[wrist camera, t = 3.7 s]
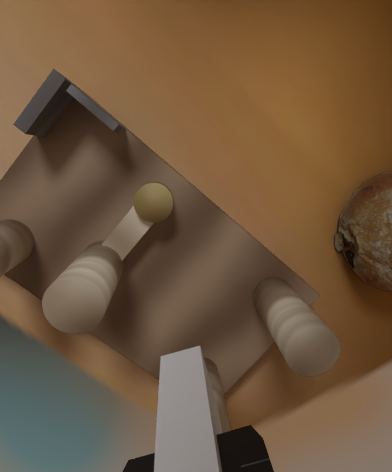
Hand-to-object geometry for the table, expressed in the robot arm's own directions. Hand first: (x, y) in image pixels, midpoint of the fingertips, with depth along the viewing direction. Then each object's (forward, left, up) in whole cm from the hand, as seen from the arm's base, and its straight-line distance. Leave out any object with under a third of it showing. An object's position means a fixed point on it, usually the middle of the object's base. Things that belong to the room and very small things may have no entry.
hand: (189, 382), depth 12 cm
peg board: (+2, -1, -16) cm, 16 cm away
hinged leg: (+3, -4, -13) cm, 14 cm away
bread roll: (-18, +3, -17) cm, 25 cm away
